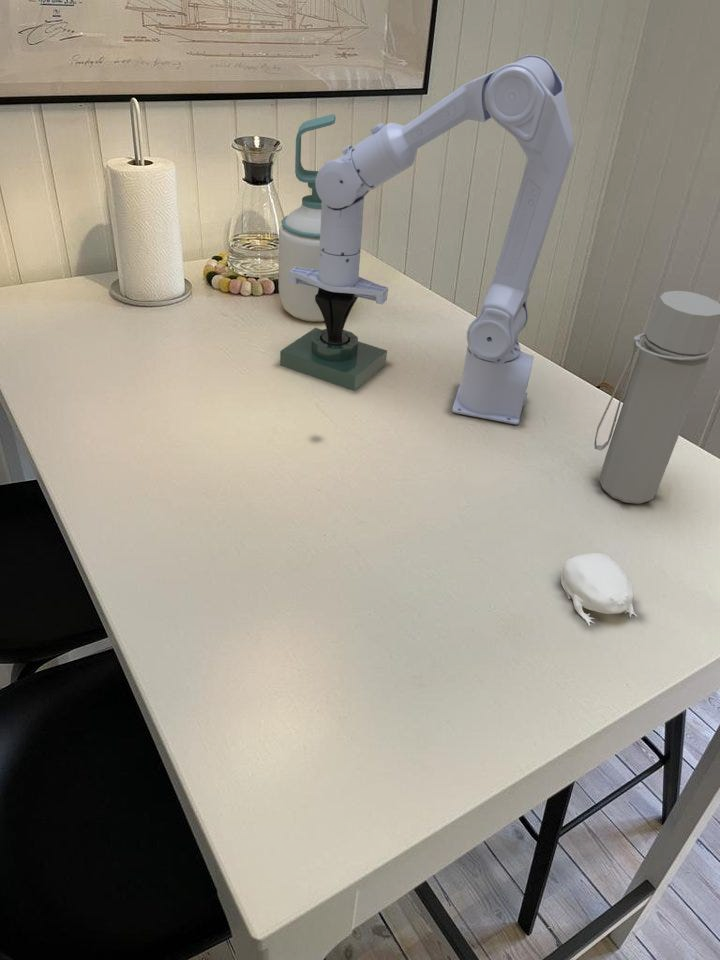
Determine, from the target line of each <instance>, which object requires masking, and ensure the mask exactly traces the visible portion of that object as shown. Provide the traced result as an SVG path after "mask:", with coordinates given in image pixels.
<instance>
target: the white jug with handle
mask: <svg viewBox="0 0 720 960" xmlns="http://www.w3.org/2000/svg"><path fill="white" fill-rule="evenodd" d="M336 118H337V117H336V114H333V113H332V114H328V115H324V116H320V117H316V118H312V119H308V120H306V121H304V122H302V123H301V124H300V125H299V127H298V131H297V134H296V136H295V158H294V159H295V160H294V161H295V163H294V164H295V166H294V174H295V178H296V179H297V180H298V181H299V182H302V183H306V184H307V187H308V188H309V189H311V194H309V195H305V196H303V197H301V205H300V207H298V208H295V209H294V210H292V211H291V212H289V214H288V215H285V217H284V218H282V219H281V222H280V223H281V225H280V226H279V229H278V293H279V299H280V302H281V305H282V307H283V309H284V310H285V312H287V313H288V314H289V315H291V316H293V317H294V318H296V319H298V320H300V321H304V322H305V321H306V322H311V323H323V322H325V321H324V318H323V315H322V313H321V310H320V308H319V306H318V305H317V303H316V301H315V295H316V294H318V289H319V288H316V287H312V286H307V285H303V284H298V283H297V284H296V285H294V284H290V283H289V274H290V270H292V269H293V268H294V267H300V268H307V269H319V252H320V227H321V207H322V201H321V199H320V198H319V196H318V194H317V191H316V187H315V180H316V176H317V173H318V172H319V170H308V169H305V168H304V167H303V164H302V135H304V134H305V133H307V132H311V131H314V130H319V129H322V128H326V127H329V126H332V125H334V124H336Z"/></svg>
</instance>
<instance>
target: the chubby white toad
mask: <svg viewBox="0 0 720 960" xmlns="http://www.w3.org/2000/svg"><path fill="white" fill-rule="evenodd" d="M560 583H561V586H562V588H563V590H564V591H565V593H566V595H567V598H568V599H569V600H571V599H572V603H573V604H572V605H573V607H574V610H575V611H576V613H578V615H579V616H580V617H581V618H582V619H583V620H584V621H585V622H586V624H587V625H588V626H591V624H596V623H595V622H594V621H592V620H596V618H594V617H592V616H591V613H590V612H589V613H586V612H584V608H585V609H587V610H589V611H594V612H597V613H599V614H607V615H608V614H609V615H617V614H622V613H623V614H627V613H628V614H629V617H630V618H631V617H632V615H633V616H634V617H636V618H637V616H638V615H637V614H636V613H635V611H634V605H633V602H634V597H635V595H634V587H633V583H632V581H631V579H630V578H629V576H627V574H626V573H625V572H624V570H623V569H622V567H621V566H620V565H619V564H618V563H617V562H615V561H614V560H613V559H612V558H611V557H609V556H608V555H606V554H603V553H600V552H590V553H583V554H578V555H575V556H571V557H570V558H568V559H567V560H566V561H565V563H564V564H563V566H562V569H561V571H560Z"/></svg>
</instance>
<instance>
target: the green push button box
mask: <svg viewBox="0 0 720 960" xmlns="http://www.w3.org/2000/svg"><path fill="white" fill-rule="evenodd" d="M325 333H327V328H323V329H322V328H318V327H314V328H312V329H311V330H309V331H308V332H307V333H305V334H304V335H302V336H300V337H299V338H297V339H296V340H295V341H293V342H291V343H290V344H288V345H287V346H285V347H284V348H282V349H280V351H279V366H281V367H283V368H286V369H289V370H292V371H295V372H299V373H301V374H304V375H306V376H310V377H313V378H316V379H318V380H320V381H321V380H322V381H323V382H327V383H330V384H333V385H335V386H339V387H342V388H344V389H347V390H350V391H353V392H355V391H356V390H358V389H359V388H360V387H361V386H363V384H365V383H366V382H368V380H369V379H371V378H372V377H373V376H374V375H375V374H377V373H378V372H379V371H380V370H382V368H384V367H385V366H386V365H387V357H388V350H386V349H384V348H380V347H377V346H374V345H371V344H369V343H365V342H362V341H359V337H358V336H357V335H356V334H355V333H353V332H352V331H349V330H346V329H343V332H342V333H343V334H345V335H347V336H348V343H347V344H346V345H341V346H332V345H328V344H325V343H323V342H322V335H323V334H325Z"/></svg>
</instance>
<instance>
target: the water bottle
mask: <svg viewBox="0 0 720 960" xmlns="http://www.w3.org/2000/svg"><path fill="white" fill-rule="evenodd" d="M719 328H720V303H719V302H718V301H717V300H715V299H713V298H711V297H708V296H707V295H703V294H701V293H696V292H693V291H685V290H684V291H683V290H671V291H665V292H663V293H662V294H661V295H660V296H659V298H658V300H657V303H656V306H655V307H654V310H653V312H652V313H651V317H650V319H649V321H648V324H647V326H646V328H645V330H644V332H643V333H639V334H637V335H634V338H633V339H634V340H633V348H632V352H631V354H630V356H629V358H628V361H627V363H626V365H625V367H624V369H623V370H622V374H621V375H620V377H619V380H618V382H617V384H616V386H615V389H614V391H613V393H612V394H611V397H610V399H609V401H608V403H607V405H606V408H605V410H604V412H603V414H602V417H601V419H600V421H599V422H598V425H597V427H596V432H595V437H594V443H593V445H594V450H597V451H603V450H604V449H606V448H607V446H608V445H609V446H608V449H607V452H606V455H605V458H604V461H603V464H602V467H601V470H600V473H599V475H598V479H599V482H600V486H601V488H602V490H603V491H604V492H605V493H607V494H608V495H609V496H610V497H612V499H616V500H618V501H620V502H623V503H627V504H638V505H640V504H644V503H646V502H650V501H652V500H653V499H654V497H655V496H656V494H657V493H658V490H659V488H660V485H661V482H662V480H663V477H664V475H665V473H666V470H667V468H668V465H669V462H670V459H671V457H672V454H673V451H674V449H675V447H676V444H677V441H678V439H679V436H680V434H681V431H682V428H683V426H684V423H685V421H686V418H687V416H688V413H689V410H690V408H691V406H692V403H693V401H694V398H695V395H696V393H697V390H698V387H699V386H700V382H701V380H702V377H703V374H704V372H705V370H706V367H707V364H708V362H709V359H710V356H711V354H712V353H713V351H714V349H715V342H716V339H717V334H718V330H719ZM641 338H643V340H644V341H643V342H642V344H640V341H641ZM638 350H640V351H639V354H638V357H637V360H636V363H635V366H634V368H633V372H632V374H631V378H630V381H629V384H628V386H627V383H628V378H629V375H630V371H631V367H632V364H633V361H634V358H635V357H634V356H635V354H636V352H637V351H638ZM628 366H629V367H628ZM627 369H628V370H627ZM626 370H627V374H626V377H625V381H624V384H623V387H622V391H621V394H620V397H619V401H618V404H617V407H616V411H615V413H614V414H615V415H614V417H613V421H612V425H611V427H610V428H611V429H610V431H609V435H608V439H607V440H606V442H605V443H603V444H602V445H600V444H599V445H598V444H597V438H598V433H599V430H600V428H601V426H602V423H603V421H604V419H605V416H606V414H607V412H608V410H609V408H610V406H611V404H612V401H613V399H614V397H615V395H616V393H617V390H618V388H619V386H620V384H621V382H622V379H623V377H624V375H625V372H626ZM626 386H627V391H626V394H625V396H624V393H625V389H626ZM623 396H624V399H623ZM622 400H623V403H622ZM621 403H622V406H621ZM620 407H621V409H620ZM618 413H619V414H618ZM616 421H617V422H616Z"/></svg>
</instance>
